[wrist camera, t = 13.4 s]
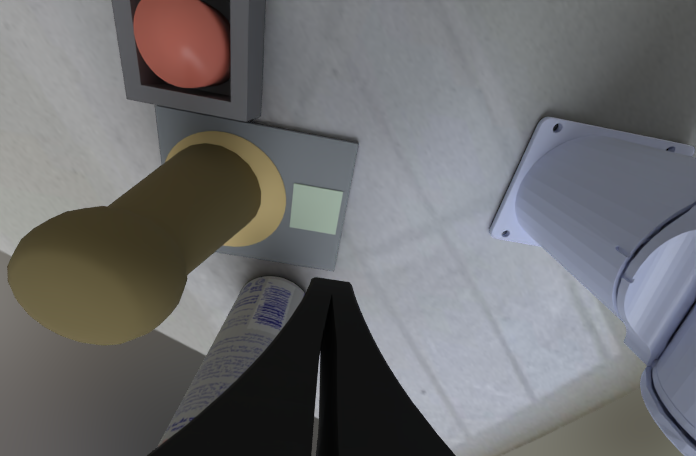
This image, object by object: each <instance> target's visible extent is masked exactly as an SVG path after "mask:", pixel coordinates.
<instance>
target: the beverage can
mask: <svg viewBox="0 0 696 456" xmlns="http://www.w3.org/2000/svg"><path fill="white" fill-rule="evenodd" d="M304 295H305V293H304V292H303V291H302V289H301V288H300V287H298V286H297V285H296V284H294V283H293V282H291V281H289V280H286V279H284V278H280V277H274V276H265V277H259V278H256V279H253V280H251V281H250V282H248V283H247V284H246V285H245V286H244V287H243V288H242V290H241V292H240V294H239V296H238V298H237V300H236V301H235V303H234V305H233V307H232V309H231V311H230V313H229V314H228V316H227V318H226V320H225V322H224V324H223V326H222V327H221V329H220V331H219V333H218V335H217V337H216V339H215V341H214V342H213V344H212V346H211V348H210V350H209V352H208V354H207V355H206V357H205V359H204V361H203V363H202V365H201V367H200V368H199V371H198V372H197V374H196V376H195V378H194V380H193V381H192V384H191V385H190V387H189V389H188V391H187V393H186V395H185V397H184V398H183V400H182V402H181V404H180V406H179V408H178V409H177V411H176V413H175V415H174V417H173V419H172V421H171V422H170V424H169V426H168V428H167V430H166V432H165V434H164V435H163V437H162V439H161V441H160V443H159V445H158V447H159V446H160V445H161V444H162V443H164V442H165V441H166V440H168V439H169V438H170V437H171V436H173V435H174V434H175V433H177V432H178V431H179V430H180V429H182V428H183V427H184V426H185V425H187V424H188V423H189V422H190V421H191V420H193V419H194V418H195V417H196V416H197V415H198V414H199V413H201V412H202V411H203V410H204V409H205V408H206V407H207V406H209V405H210V404H211V403H212V402H213V401H214V400H215V399H217V398H218V397H219V396H220V395H221V394H222V393H223V392H224V391H225V390H227V389H228V388H229V387H230V386H231V385H232V384H233V383H234V382H235V381H236V380H237V379H238V378H239V377H240V376H241V375H242V374H243V373H244V372H245V371H246V370H247V369H248V368H249V367H250V366H251V365H252V364H253V363H254V362H255V360H256V359H257V358H258V357H259V356H260V355H261V354H262V353H263V352H264V350H265V349H266V348H267V347H268V346H269V345H270V343H271V342H272V341H273V340H274V339H275V337H276V336H277V335H278V333H279V332H280V331H281V329H282V328H283V327H284V326H285V324H286V323H287V322H288V320H289V319H290V317H291V316H292V314H293V313H294V311H295V310H296V308H297V307H298V305H299V304H300V302H301V300H302V299H303V297H304Z"/></svg>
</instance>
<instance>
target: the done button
mask: <svg viewBox="0 0 696 456" xmlns="http://www.w3.org/2000/svg"><path fill="white" fill-rule="evenodd" d="M133 28H134V36H135V40H136V44H137V47H138V49H139V52H140V54H141V55H142V57H143V59H144V61H145V62H146V64H147V65H148V66H149V67H150V69H151V70H152V71H153V72H154V73H155V74H156V75H157V76H159V77H160V78H161V79H163V80H164V81H166V82H168V83H169V84H172V85H174V86H177V87H181V88H198V87H211V86H218V85H221V84H223V83H225V82H226V81H227V80H229V78H230V77H231V39H230V23H229V22H228V20H227V19H226V18H225V17H224V15H223V14H222V13H221V12H219V11H218V10H217V9H216V8H214V7H212V6H211V5H209V4H207V3H205V2H203V1H201V0H141V1H140V2H139V4H138V6H137V8H136V11H135V15H134V23H133Z"/></svg>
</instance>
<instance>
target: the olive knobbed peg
mask: <svg viewBox="0 0 696 456" xmlns="http://www.w3.org/2000/svg"><path fill="white" fill-rule="evenodd" d="M260 205H261V189H260V186H259V182H258V179H257V177H256V175H255V173H254V172H253V170H252V169H251V167H250V166H249V164H248V163H247V162H245V161H244V160H243V159H242V158H241V157H240V156H239V155H238V154H236V153H235V152H233V151H231V150H229V149H227V148H225V147H223V146H219V145H214V144H208V143H202V144H195V145H190V146H188V147H187V148H185V149H183V150H181V151H180V152H178V153H177V154H176V155H174V156H173V157H172V158H170V159H169V160H168V161H166V162H165V163H164V164H163V165H161V166H160V167H159V168H157V169H156V170H155V171H153V172H152V173H151V174H149V175H148V176H147V177H146V178H144V179H143V180H142V181H140V182H139V183H138V184H136V185H135V186H134V187H132V188H131V189H130V190H129V191H127V192H126V193H125V194H123V195H122V196H121V197H119V198H118V199H117V200H116V201H114V202H113V203H112V204H110V205H109V206H108V207H106V206H99V207H92V208H84V209H78V210H73V211H67V212H65V213H62V214H60V215H58V216H56V217H53V218H51V219H49V220H48V221H46V222H44V223H42V224H41V225H39V226H37V227H35V228H34V229H33V230H31V231H30V232H29V233H28V234H27V235H26V236H24V237H23V238H22V239H21V241H20V242H19V244H18V246H17V248H16V249H15V251H14V253H13V255H12V257H11V259H10V262H9V264H8V266H7V268H8V269H7V270H8V282H9V285H10V287H11V289H12V291H13V294H14V296H15V298H16V299H17V301H18V302H19V304H20V305H21V306H22V307H23V308H24V310H25V311H26V312H27V313H28V314H29V315H30V316H31V317H32V318H33V319H35V320H36V321H37V322H39V323H40V324H41V325H43V326H44V327H46V328H47V329H49V330H51V331H53V332H55V333H57V334H59V335H61V336H63V337H67V338H69V339H72V340H75V341H78V342H83V343H89V344H96V345H115V344H122V343H124V342H127V341H130V340H133V339H135V338H137V337H140V336H143V335H145V334H147V333H149V332H151V331H152V330H153V329H155V328H156V327H157V326H159V325H160V324H161V323H162V322H163V321H164V320H165V319H166V318H167V317H168V316H169V315H170V314H171V313H172V312H173V310H174V309H175V308H176V306H177V305H178V304H179V301H180V299H181V296H182V293H183V290H184V288H185V285H186V282H187V275H188V274H189V273H190V272H191V271H193V270H194V269H195V268H196V267H197V266H199V265H200V264H201V263H202V262H203V261H204V260H206V259H207V258H208V257H209V256H210V255H212V254H213V253H214V252H215V251H216V250H218V249H219V248H220V247H221V246H222V245H224V244H225V243H226V242H227V241H228V240H230V239H231V238H232V237H233V236H234V235H236V234H237V233H238V232H239V231H240V230H242V229H243V228H244V227H245V226H246V225H248V224H249V223H250V222H251V220H252V219H253V218H254V217H255V216H256V215H257V212H258V210H259V208H260Z"/></svg>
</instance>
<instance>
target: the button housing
mask: <svg viewBox="0 0 696 456" xmlns="http://www.w3.org/2000/svg"><path fill="white" fill-rule="evenodd" d="M140 1H141V0H112V6H113V13H114V19H115V26H116V32H117V39H118V45H119V52H120V58H121V64H122V71H123V77H124V84H125V90H126V97H127V99H129V100H134V101H139V102H144V103H150V104H155V105H160V106H166V107H171V108H176V109H181V110H187V111H192V112H197V113H203V114H208V115H213V116H218V117H224V118H229V119H234V120H239V121H245V122H247V121H250V120H252V119H254V118H257V117H259V116H261V104H262V79H263V55H264V30H265V5H266V0H201V1H203V2H205V3H207V4H209V5H211V6H212V7H214V8H216V9H217V10H218V11H219V12H221V13H222V14H223V15H224V17H225V18H226V19H227V20H228V22H229V23H230V39H231V77H230V78H229V80H227V81H226V82H225V83H223V84H221V85H218V86H211V87H198V88H181V87H177V86H174V85H172V84H169V83H168V82H166V81H164V80H163V79H161V78H160V77H159V76H157V75H156V74H155V73H154V72H153V71H152V70H151V69H150V67H149V66H148V65H147V64H146V62H145V61H144V59H143V57H142V55H141V54H140V52H139V49H138V47H137V44H136V40H135V36H134V28H133V23H134V15H135V11H136V8H137V6H138V4H139V2H140Z"/></svg>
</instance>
